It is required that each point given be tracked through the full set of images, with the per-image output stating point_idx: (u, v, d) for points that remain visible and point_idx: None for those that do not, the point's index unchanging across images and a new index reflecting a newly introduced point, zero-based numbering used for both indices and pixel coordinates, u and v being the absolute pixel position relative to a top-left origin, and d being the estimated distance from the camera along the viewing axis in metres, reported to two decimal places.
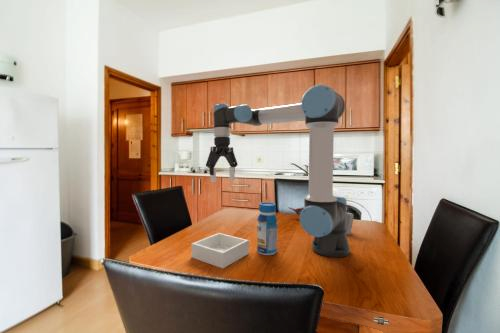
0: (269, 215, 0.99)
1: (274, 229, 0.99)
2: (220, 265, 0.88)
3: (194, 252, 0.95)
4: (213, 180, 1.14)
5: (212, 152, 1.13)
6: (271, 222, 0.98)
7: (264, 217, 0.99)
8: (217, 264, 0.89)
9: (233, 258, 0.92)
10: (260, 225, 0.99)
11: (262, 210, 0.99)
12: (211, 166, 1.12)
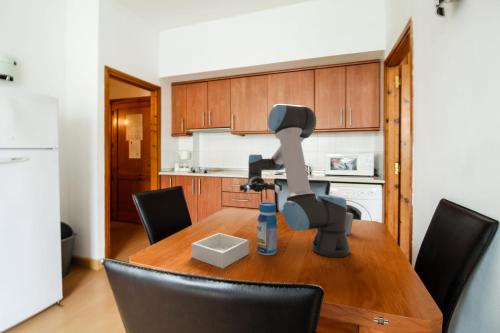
0: (269, 215, 0.99)
1: (274, 229, 0.99)
2: (220, 265, 0.88)
3: (194, 252, 0.95)
4: (247, 189, 1.11)
5: None
6: (271, 222, 0.98)
7: (264, 217, 0.99)
8: (217, 264, 0.89)
9: (233, 258, 0.92)
10: (260, 225, 0.99)
11: (262, 210, 0.99)
12: (243, 186, 1.17)
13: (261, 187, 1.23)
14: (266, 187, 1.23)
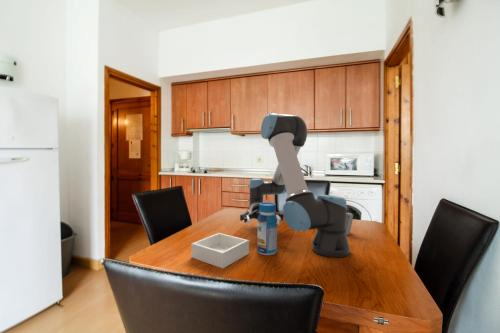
0: (269, 215, 0.99)
1: (274, 229, 0.99)
2: (220, 265, 0.88)
3: (194, 252, 0.95)
4: (247, 220, 1.07)
5: None
6: (271, 222, 0.98)
7: (264, 217, 0.99)
8: (217, 264, 0.89)
9: (233, 258, 0.92)
10: (260, 225, 0.99)
11: (262, 210, 0.99)
12: (243, 216, 1.14)
13: None
14: None
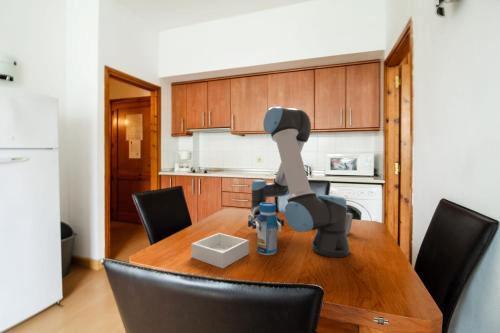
0: (269, 215, 0.99)
1: (274, 229, 0.99)
2: (220, 265, 0.88)
3: (194, 252, 0.95)
4: (257, 227, 0.98)
5: (249, 218, 1.11)
6: (271, 222, 0.98)
7: (264, 217, 0.99)
8: (217, 264, 0.89)
9: (233, 258, 0.92)
10: (260, 225, 0.99)
11: (262, 210, 0.99)
12: (252, 222, 1.04)
13: None
14: None
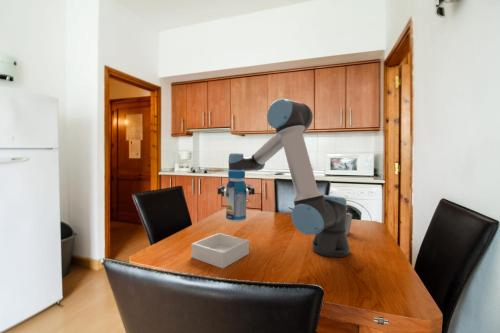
0: (237, 181, 0.97)
1: (242, 195, 0.97)
2: (220, 265, 0.88)
3: (194, 252, 0.95)
4: (224, 192, 0.96)
5: None
6: (238, 187, 0.96)
7: (232, 183, 0.97)
8: (217, 264, 0.89)
9: (233, 258, 0.92)
10: (228, 191, 0.98)
11: (230, 176, 0.98)
12: (221, 189, 1.02)
13: None
14: None
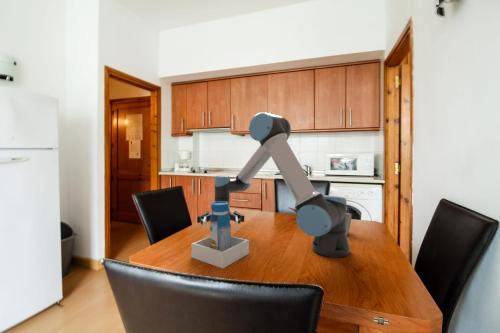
0: (220, 214, 0.95)
1: (226, 229, 0.95)
2: (220, 265, 0.88)
3: (194, 252, 0.95)
4: (202, 222, 0.94)
5: None
6: (222, 221, 0.94)
7: (215, 217, 0.94)
8: (217, 264, 0.89)
9: (233, 258, 0.92)
10: (211, 225, 0.95)
11: (213, 210, 0.95)
12: (201, 218, 1.00)
13: None
14: None
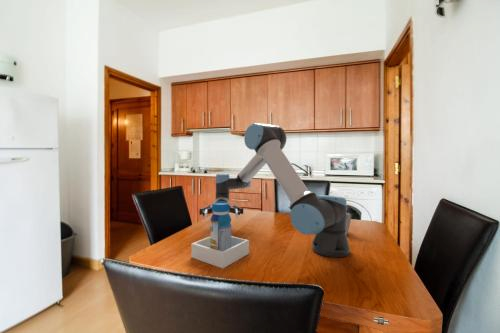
0: (221, 214, 0.95)
1: (226, 229, 0.95)
2: (220, 265, 0.88)
3: (194, 252, 0.95)
4: None
5: None
6: (222, 221, 0.94)
7: (216, 216, 0.95)
8: (217, 264, 0.89)
9: (233, 258, 0.92)
10: (212, 225, 0.95)
11: (214, 209, 0.95)
12: (203, 210, 1.14)
13: None
14: None
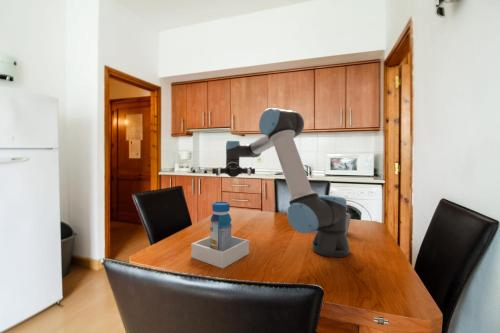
0: (221, 214, 0.95)
1: (226, 229, 0.95)
2: (220, 265, 0.88)
3: (194, 252, 0.95)
4: (218, 171, 1.10)
5: None
6: (222, 221, 0.94)
7: (216, 216, 0.95)
8: (217, 264, 0.89)
9: (233, 258, 0.92)
10: (212, 225, 0.95)
11: (214, 209, 0.95)
12: (215, 169, 1.16)
13: (235, 171, 1.22)
14: (240, 171, 1.22)
